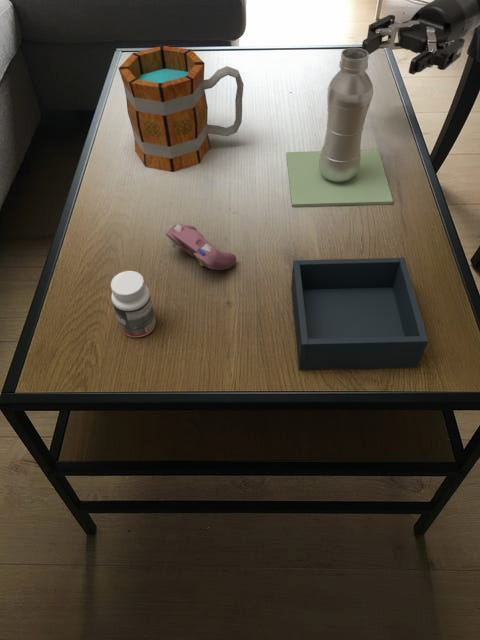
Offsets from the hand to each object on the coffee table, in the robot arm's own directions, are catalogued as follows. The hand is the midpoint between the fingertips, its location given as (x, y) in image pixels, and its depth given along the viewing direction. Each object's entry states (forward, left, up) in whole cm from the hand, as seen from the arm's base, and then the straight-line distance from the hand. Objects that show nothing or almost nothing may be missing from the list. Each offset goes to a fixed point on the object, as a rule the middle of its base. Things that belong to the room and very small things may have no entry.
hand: (387, 58), depth 81 cm
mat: (+7, +7, -17) cm, 19 cm away
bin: (+9, +38, -17) cm, 42 cm away
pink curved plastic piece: (+28, +25, -17) cm, 41 cm away
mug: (+32, -3, -17) cm, 36 cm away
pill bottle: (+36, +37, -17) cm, 54 cm away
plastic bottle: (+6, +7, -16) cm, 19 cm away
